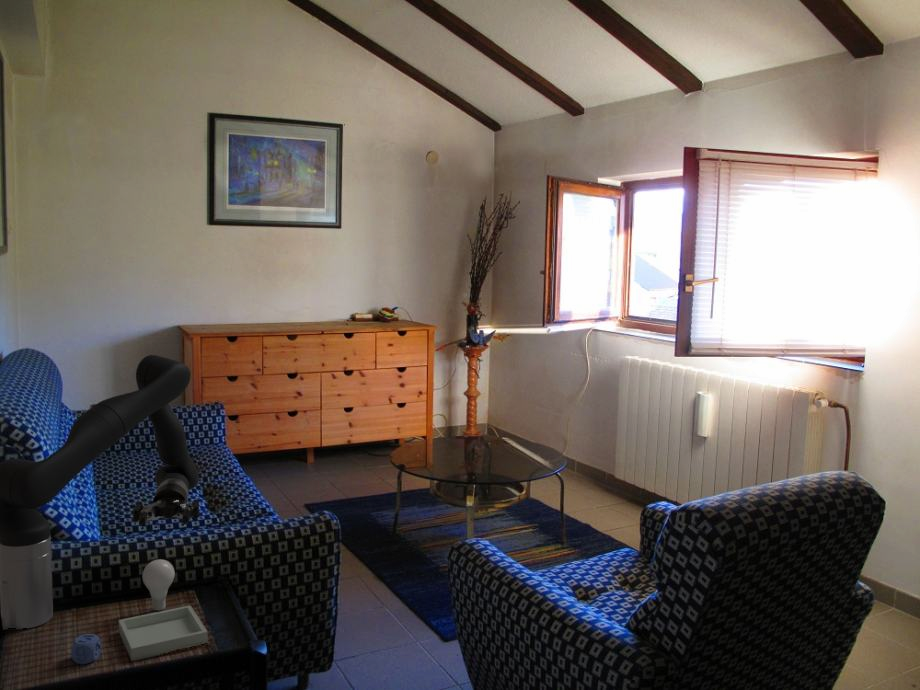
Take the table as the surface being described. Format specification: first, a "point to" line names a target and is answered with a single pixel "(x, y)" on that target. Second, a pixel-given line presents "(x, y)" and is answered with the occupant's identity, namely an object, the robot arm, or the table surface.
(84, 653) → the decorative dice
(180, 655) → the table surface
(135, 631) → the parts tray
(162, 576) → the lightbulb
